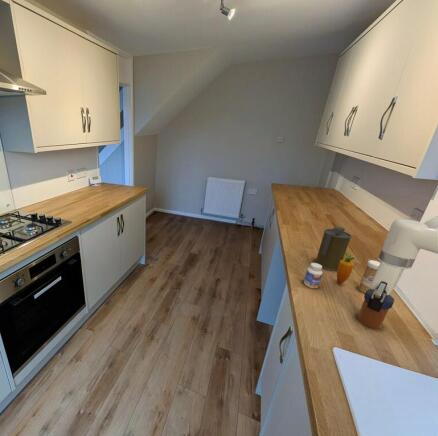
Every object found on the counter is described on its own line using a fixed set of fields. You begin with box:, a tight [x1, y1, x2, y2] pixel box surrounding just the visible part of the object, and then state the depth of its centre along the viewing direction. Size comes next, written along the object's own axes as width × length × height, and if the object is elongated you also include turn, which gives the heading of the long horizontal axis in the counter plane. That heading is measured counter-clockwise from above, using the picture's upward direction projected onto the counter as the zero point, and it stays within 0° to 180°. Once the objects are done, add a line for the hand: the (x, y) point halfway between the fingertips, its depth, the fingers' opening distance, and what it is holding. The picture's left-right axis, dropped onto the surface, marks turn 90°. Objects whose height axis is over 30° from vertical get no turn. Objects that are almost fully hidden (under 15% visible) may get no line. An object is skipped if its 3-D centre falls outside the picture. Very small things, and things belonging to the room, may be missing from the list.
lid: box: [363, 288, 395, 310], centre depth 79 cm, size 7×7×3 cm
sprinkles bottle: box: [357, 259, 381, 294], centre depth 96 cm, size 5×5×13 cm
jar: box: [357, 298, 390, 330], centre depth 81 cm, size 6×6×10 cm
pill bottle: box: [303, 262, 323, 289], centre depth 100 cm, size 5×5×10 cm
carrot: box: [336, 251, 356, 285], centre depth 100 cm, size 5×5×15 cm
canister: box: [314, 226, 353, 272], centre depth 114 cm, size 11×10×20 cm
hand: (376, 304), depth 80 cm, fingers closed on lid, 6 cm apart
